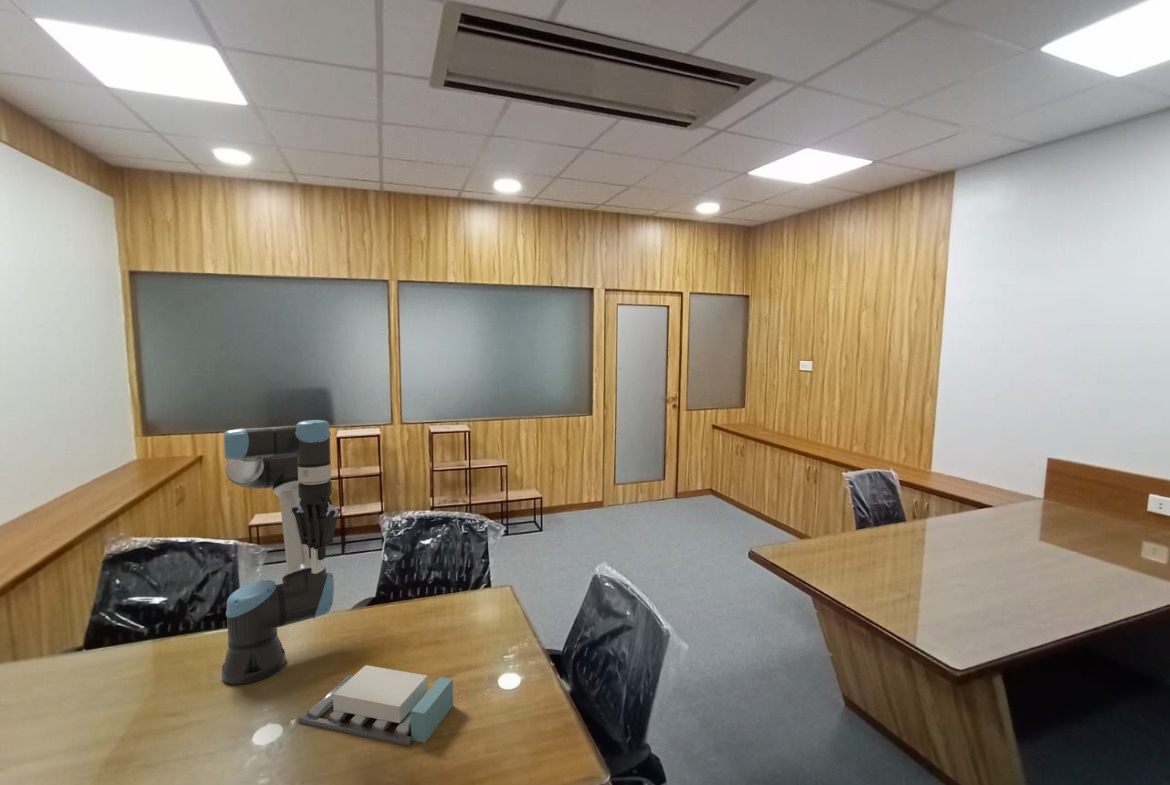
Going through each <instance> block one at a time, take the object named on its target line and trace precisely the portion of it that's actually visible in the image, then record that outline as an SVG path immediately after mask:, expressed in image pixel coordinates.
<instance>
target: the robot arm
mask: <svg viewBox="0 0 1170 785" xmlns="http://www.w3.org/2000/svg"><path fill="white" fill-rule="evenodd" d="M331 434H332V433H331V431H330V423H329V421H327V420H325V419H324V420H323V419H312V420H311V419H309V420H303V421H299V422H298V423H296V424H295V425H284V426H283V425H281V426H268V427H255V428H254V427H253V428H251V427H249V428H237V429H236V428H235V429H230V430H226V431H225V432H224V433H223V448H224V450H223V451H224V452H223V453H224V458H225V459H226V460H227V461H226V464H225V474H226V477H227V478H228V480H229V481H230V482H231V483H233V484H235V485H237V486H240V487H243V488H247V489H251V490H252V489H254V490H262V489H271V488H272V490H273V491H272V492H273V494H274V495H275V496H277V497H279V504H280V514H281V522H282V525H281V526H282V533H283V542H284V552H285V560H286V568H287V569H286V570H287V571H286V572H285V573H284V575H283V576H282V579H281V580H282V583H280V584H279V583H278V584H276V582H275V581H273V580H271V579H266V580H265V579H263V580H258V581H253V582H251V583H248V584H245V585H242V586H241V587H239V588H238V589H236V590H235V591H233V592H231V594H230V595H229V596H228V598H227V601H226V612H225V617H227V618H226V619H227V620H226V622H227V648H228V649H227V651H226V654H225V659H224V663H222V664H223V665H222V667H221V679H223V680H222V681H223V682H225V683H226V684H228V683H229V684H228V685H234V686H235V685H239V686H240V685H246V684H252V683H255V682H259V681H261V680H264V679H267V678H268V677H270V676H273V675H274V674H275V673H277V672H278V671H280V670H281V668H282V667H284V665H285V663H286V651H285V649H284V647H283V645H282V642H281V640H280V637H279V636H278V628H280V627H284V626H288V625H291V624H292V625H293V624H296V623H299V622H303V621H307V620H311V619H316V618H317V617H321V616H325V615H326V614H329V612H330V611H331V610H332V607H333V603H334V596H335V595H334V593H335V590H334V589H335V583H334V582H335V580H334V574H333V573H332V572H327V568H326V566H325V559H326V557H327V556H326V553H327V552H326V547H327V546H329V545H331V544H333V541H334V536H335V530H336V526H337V525H336V524H337V520H338V516H339V515H340V512H341V509H340V507H339V508H338V507H337V508H336V507H334V506H333V503H332V500H331V495H332V490H333V489H332V488H333V487H332V481H331V479H332V465H331V462H332V461H331V436H332V435H331ZM283 664H284V665H283Z"/></svg>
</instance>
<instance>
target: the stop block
mask: <svg viewBox="0 0 1170 785" xmlns="http://www.w3.org/2000/svg"><path fill="white" fill-rule="evenodd" d="M453 682H454V681H453V678H449V677H443V676H439V677H438V679H437V680H436V681H435V682H434V683H433V684H432V685H431V687H430V688H429V689H428V691H427V693H426V694H425V695H424V696H423V697H422V698H421V699H420V700H419V701H418V703H417V704H416V705H415V706H414V707H413V708H412V709H411V731H410V734H411V735H410V737H412V742H413V741H414V742H417V743H418V742H419V743H424V744H425V743H426V742H427V741H428V740H429V738H430V737H431V735H432V734H433V733H434V732H435V731H436V729H437V728H438V726H439V725H440V724H441V722H443V719H444V718H445V717H446V716H447V714H448V713H449V711H450V710H451V708H453V707H454V693H453V692H454V685H453Z"/></svg>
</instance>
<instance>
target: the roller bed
mask: <svg viewBox="0 0 1170 785" xmlns="http://www.w3.org/2000/svg"><path fill="white" fill-rule="evenodd" d="M354 675H355V674H354ZM354 675H353V674H349V675H347V676H345V677H344V678H341V679H342V680H341V681H340V682H339V683H338V684H337V685H336V686H335V687H334V688H333V689H331V690H330V691H329V692H327V694H325V695H324V697H322V698H321V699H320V700H319V701H318V702H317V703H315V704H314V705H313V706H312V707H311V708H309V710H307V712H306V715H305V714H300V716H299V717H298V718H297V723H300V724H303V725H308V726H312V727H318V728H322V729H327V730H332V731H336V732H342V733H346V734H351V735H355V736H360V737H365V738H369V739H373V740H379V741H385V742H387V743H388V742H389V743H394V744H398V745H404V746H408V747H409V746H411V744H412V743H413V740H412V737H411V736H408V735H409V734H411V711H410V712H409V713H408V714H407V715H406V716H405V718H404V719H403V720H402V721H401V722H400V723H398V725H397V726H396V728H395V730H394V732H388V731H386V730H387V729H388V728H389V726H390V725H391V724H392V723H393V722H391V721H386V720H381V719H376V720H375V721H374V722H373V724H372V725H371V728H369V727H364V725H365V724H366V723H367V722H368V721H369V720H370V719H372V718H371V717H366V716H361V715H356V714H354V716H352V718H351V719H350V721H349V723H344V722H342V721H343V720H344V719H345V718H346V717H347V716H348V715H349V714H350V713H346V712H341V711H336V710H333V711H331V713H330V714H329V715H328V717H327V719H326V718H321V717H322V716H323V715H324V714H325V713H326V712H327V711H328V710H330V708H332V707H333V694H334V693H335V692H336V691H337V690H338V689H339V688H340V687H342V686H343V685H344V684H345V683H346V682H347V681H348V680H349V679H351V678H352V677H353V676H354ZM426 693H427V692H426ZM426 693H425V694H426ZM425 694H424V695H425Z"/></svg>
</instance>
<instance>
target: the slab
mask: <svg viewBox="0 0 1170 785" xmlns="http://www.w3.org/2000/svg"><path fill="white" fill-rule="evenodd" d="M428 686H429V685H428V675H426V674H421V673H420V674H419V673H414V672H410V671H409V672H408V671H401V670H396V669H391V668H384V667H379V666H374V665H368V664H366V665H364V666H363V667H362V668H361V669H360V670H358V671H357V672H356V673H355V674H354V676H353V677H352V678H351V679H349V680H348V681H347V682H346V683H345V684H344V685H343V686H342V687H340V688H339V689H338V690H337V691H336V692H335V693H334V694H333V706H332V707H333V711H334V710H336V711H341V712H346V713H349V714H350V715H351V714H353V715H361V716H366V717H371V718H370V719H376V720H377V719H381V720H386V721H391V722H392V723H396V724H400V723H401V722H402V721H403V720H404V718H405V717H406V716H407V715H408V714H409V713H410V711H411V710H412V709H413V708H414V707H415V705H416V704H417V703H418V702H419V701H420V700H421V698H422V697H423V696H424V694H425V693H426V692H427V691H428V690H429V689H428Z"/></svg>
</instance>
